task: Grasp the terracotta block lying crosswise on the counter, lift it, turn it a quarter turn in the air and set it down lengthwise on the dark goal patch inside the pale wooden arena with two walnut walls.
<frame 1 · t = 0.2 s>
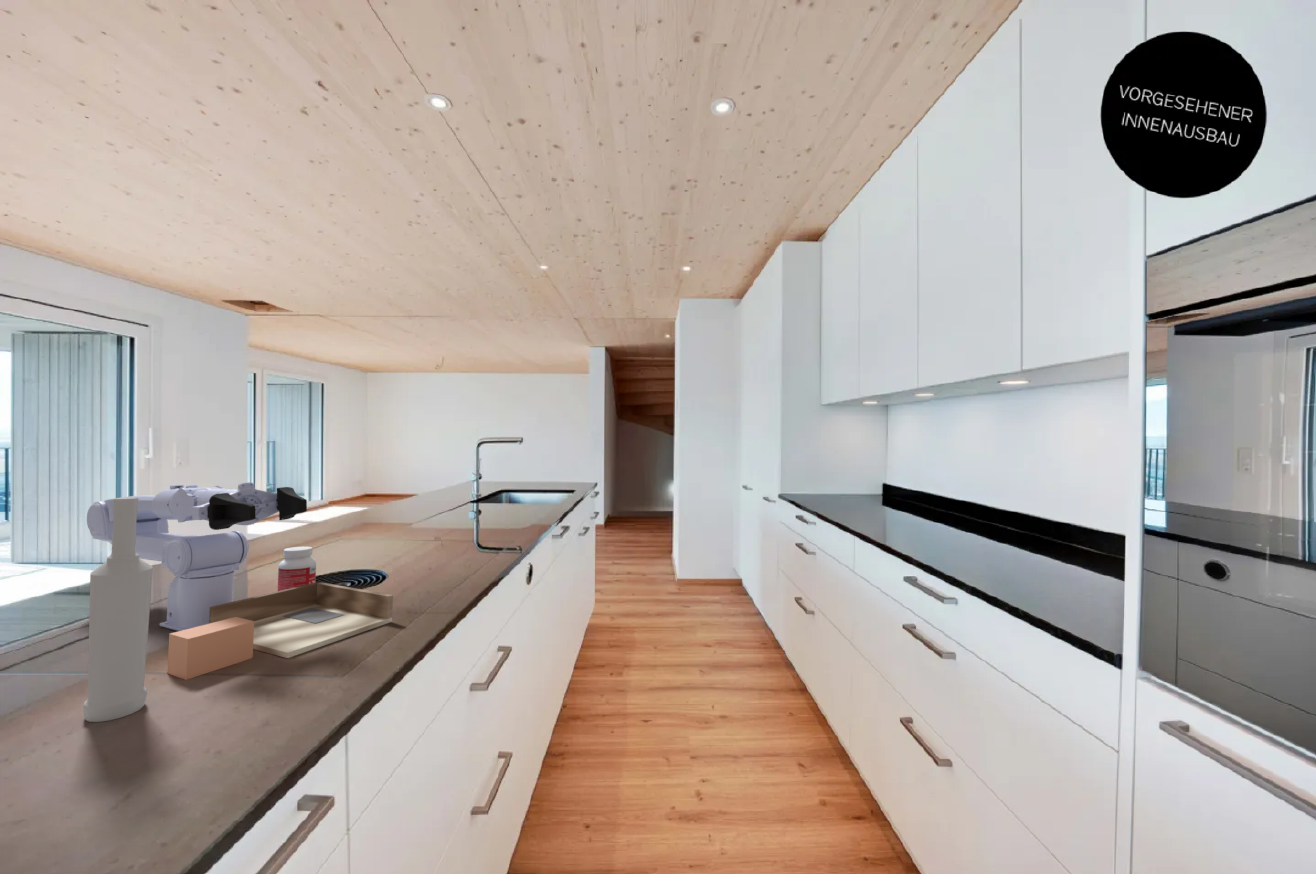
hand: (279, 509, 82), 21 cm above the counter, tool horizontal, fingers open, 7 cm apart
arena: (304, 628, 88), on the counter
block: (211, 666, 73), on the counter
bottle: (115, 713, 60), on the counter
pill bottle: (295, 605, 101), on the counter
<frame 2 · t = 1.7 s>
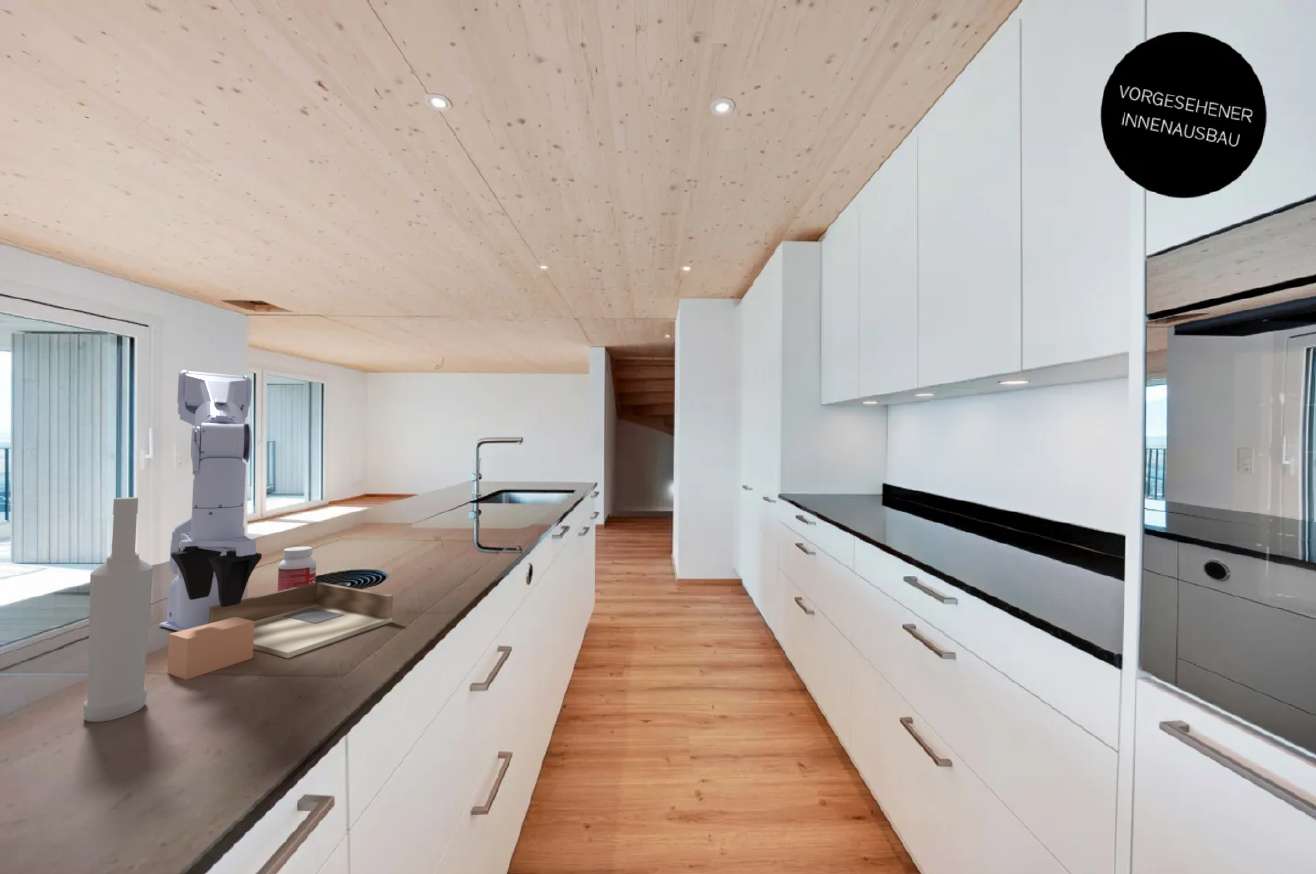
hand: (214, 601, 73), 9 cm above the counter, tool pointing down, fingers open, 7 cm apart
nothing on the counter moved.
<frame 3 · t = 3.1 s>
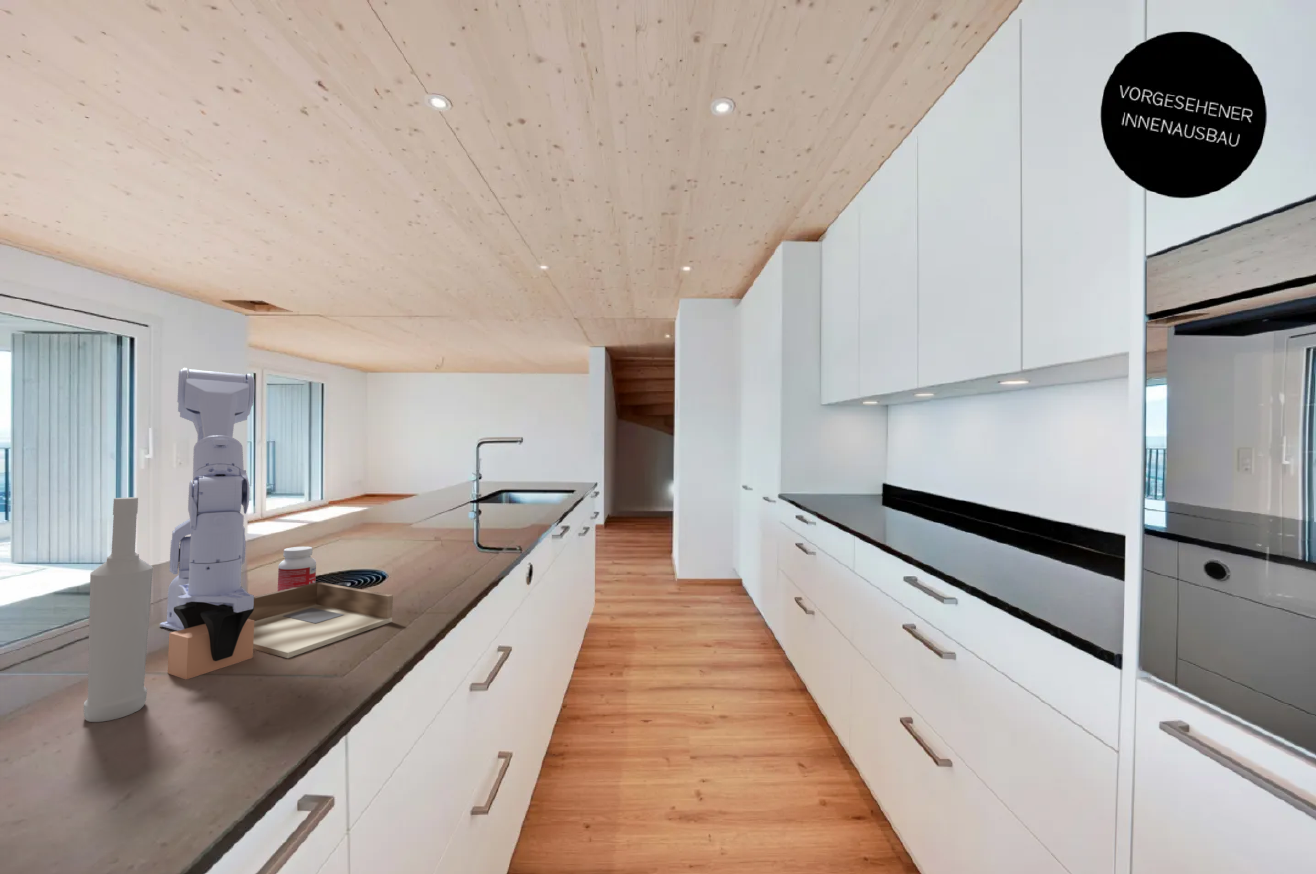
hand: (212, 655, 73), 1 cm above the counter, tool pointing down, fingers closed on block, 4 cm apart
block: (211, 665, 73), on the counter, touching gripper
everything else where it was.
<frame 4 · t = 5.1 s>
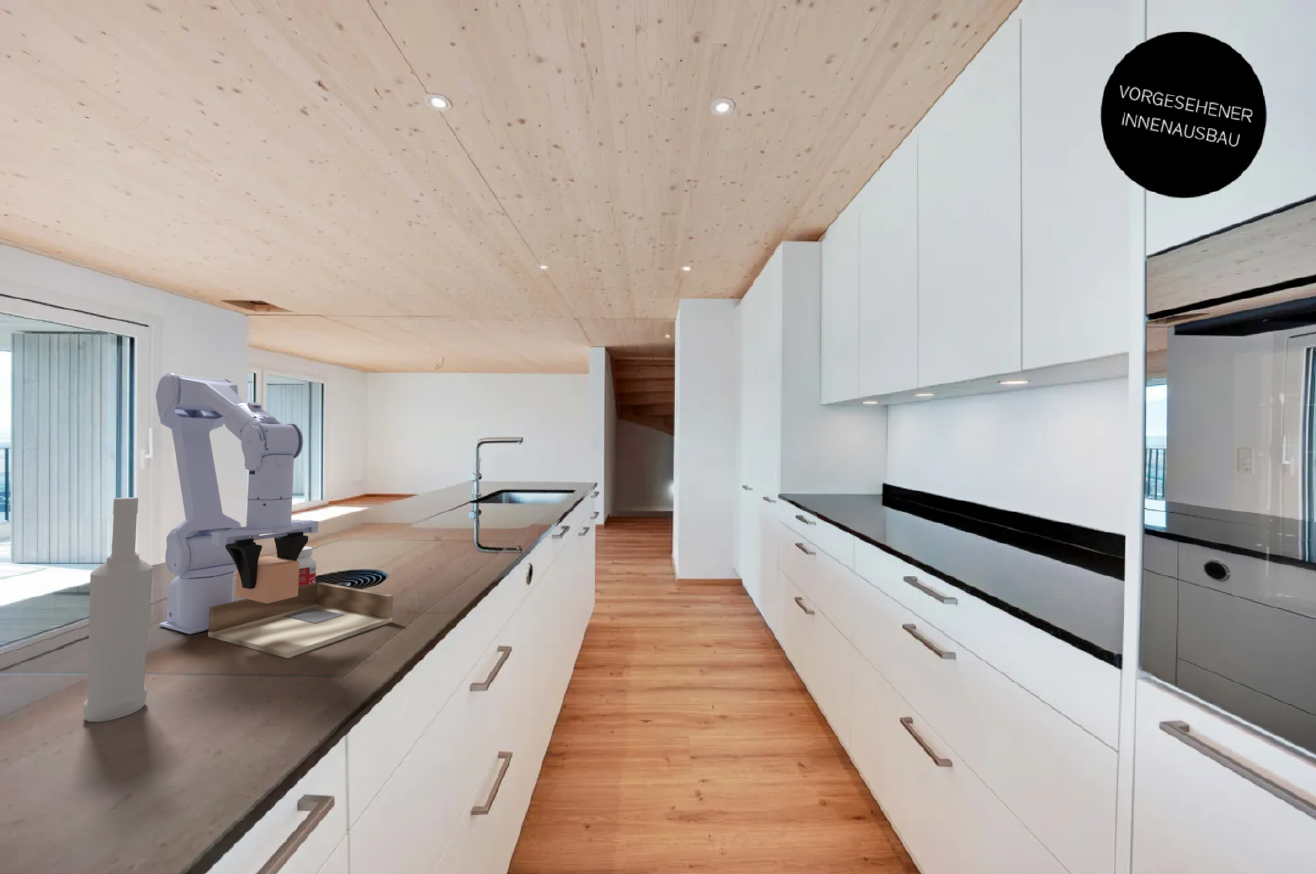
hand: (266, 584, 82), 9 cm above the counter, tool pointing down, fingers closed on block, 4 cm apart
block: (267, 596, 81), point 8 cm above the counter, touching gripper
everything else where it was.
when the fingers open (4 cm above the counter, at t = 7.3 s): block stays where it is, resting on arena.
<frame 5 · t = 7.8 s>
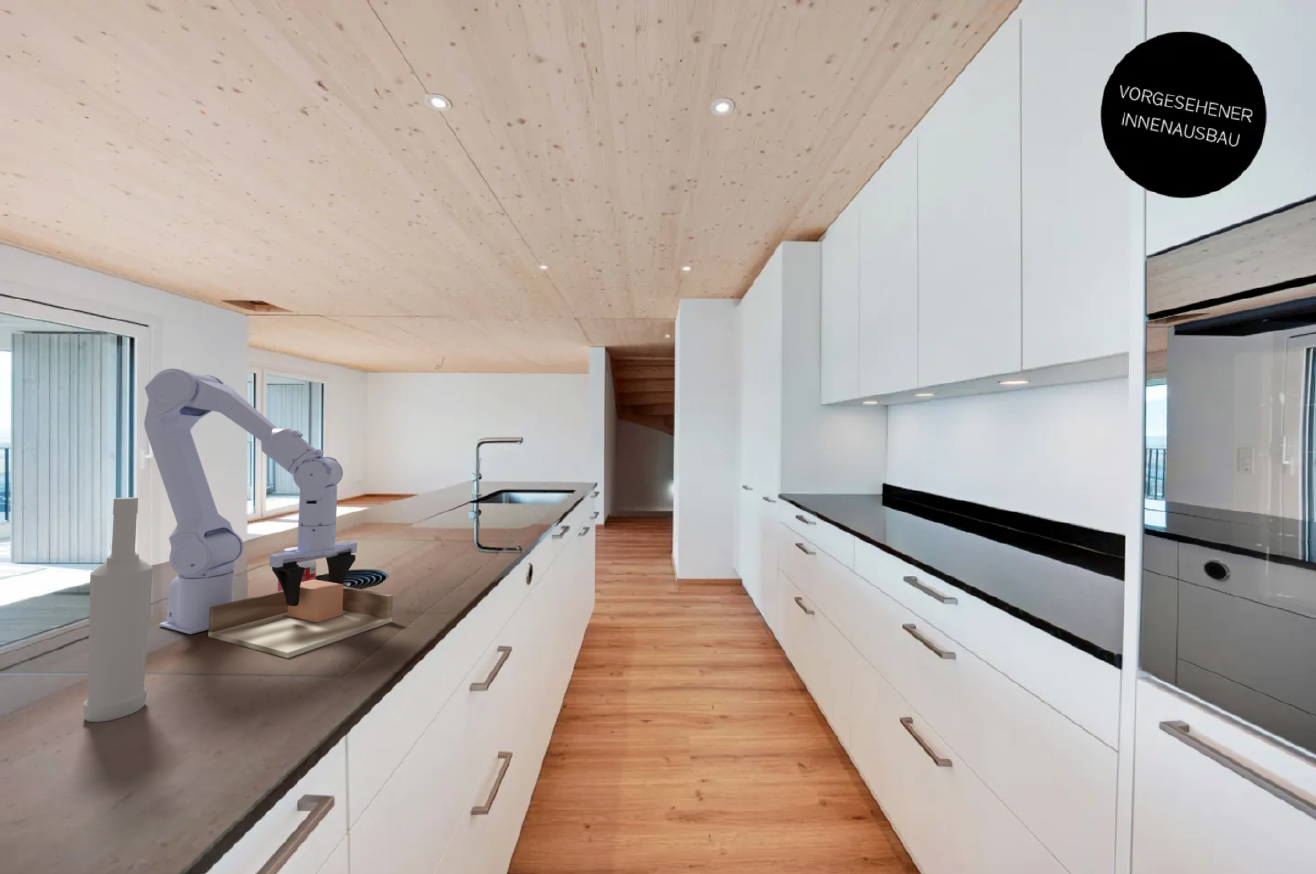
hand: (314, 599, 93), 4 cm above the counter, tool pointing down, fingers open, 7 cm apart
block: (315, 615, 92), point 1 cm above the counter, touching arena
everything else where it was.
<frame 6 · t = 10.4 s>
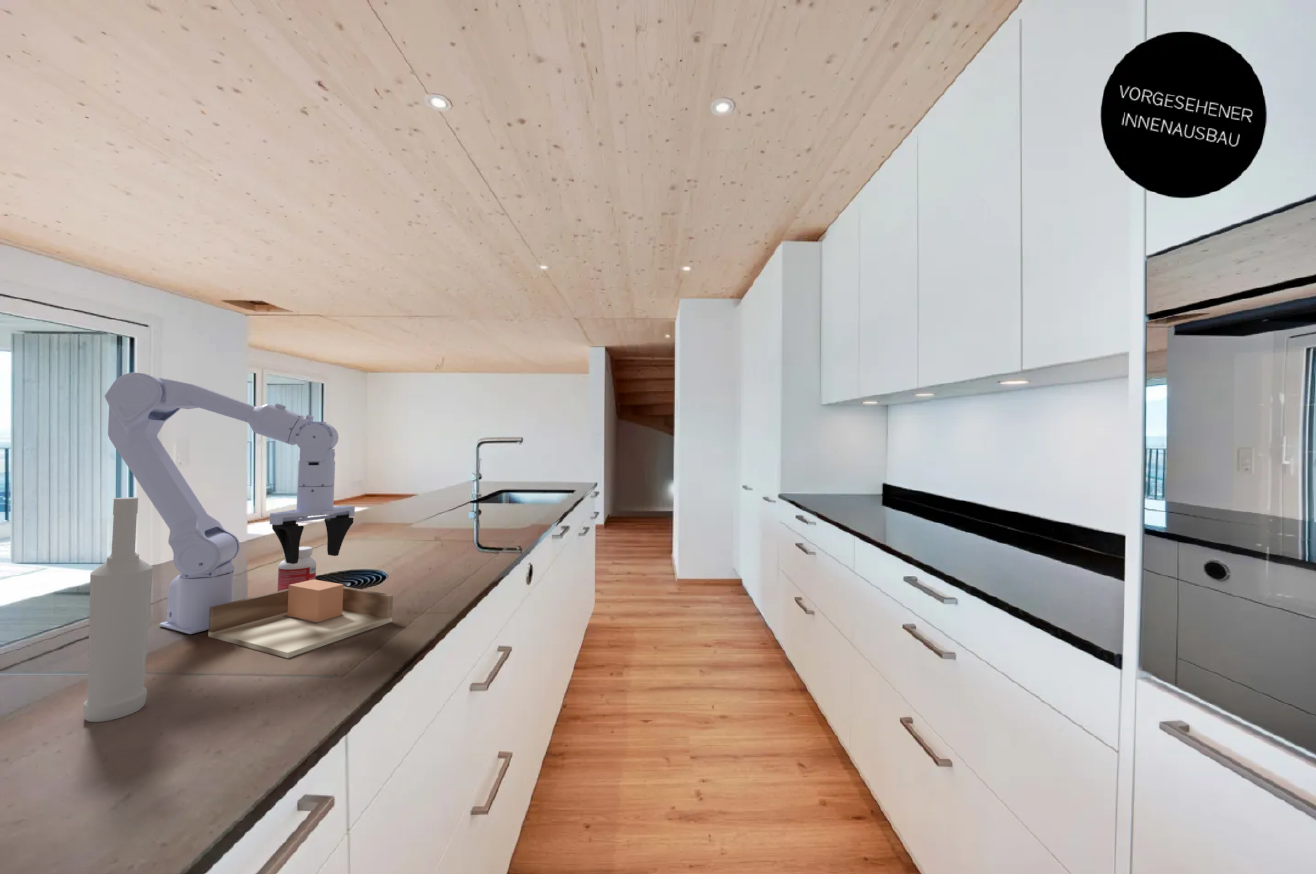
hand: (313, 559, 95), 10 cm above the counter, tool pointing down, fingers open, 7 cm apart
nothing on the counter moved.
at the end: block 0.3 cm from the target spot on the arena, point 0.9 cm above the arena's base; block tilted 0°; the gripper is holding nothing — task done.
